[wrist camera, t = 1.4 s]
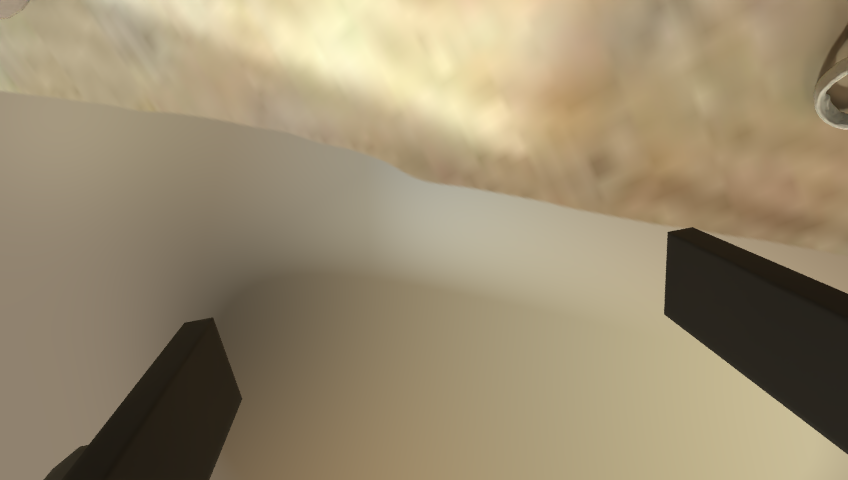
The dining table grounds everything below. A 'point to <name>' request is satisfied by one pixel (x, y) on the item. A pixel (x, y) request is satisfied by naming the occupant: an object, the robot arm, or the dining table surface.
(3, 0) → the coffee pot
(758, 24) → the dining table surface
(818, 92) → the ceramic mug
